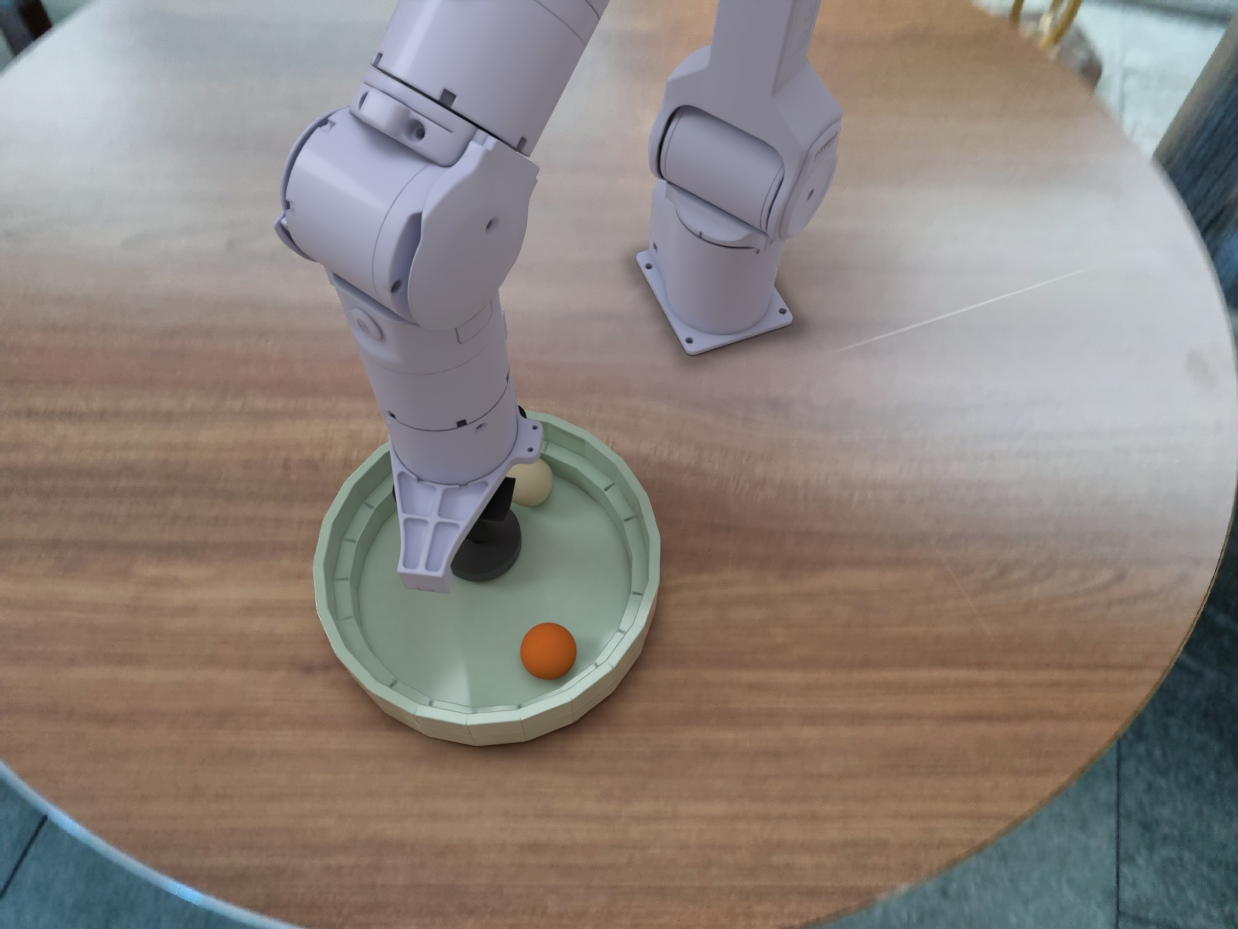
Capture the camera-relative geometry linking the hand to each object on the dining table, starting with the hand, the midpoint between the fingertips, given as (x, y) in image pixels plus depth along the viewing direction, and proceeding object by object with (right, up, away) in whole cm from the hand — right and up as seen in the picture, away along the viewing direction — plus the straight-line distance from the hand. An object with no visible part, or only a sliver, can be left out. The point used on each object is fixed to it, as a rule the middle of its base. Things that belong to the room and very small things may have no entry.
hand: (477, 519), depth 50 cm
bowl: (+1, -4, +3) cm, 5 cm away
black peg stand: (0, -2, +3) cm, 3 cm away
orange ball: (+4, -7, -1) cm, 8 cm away
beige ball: (+2, +2, +4) cm, 5 cm away
